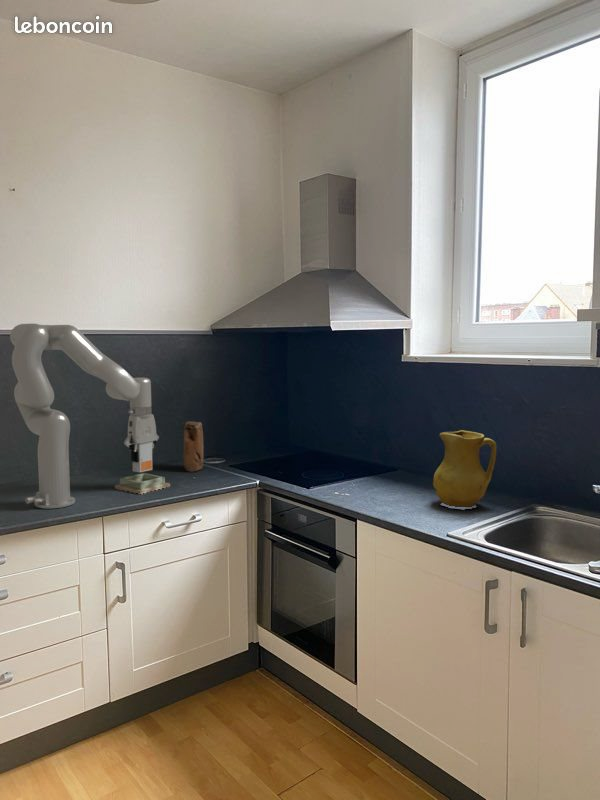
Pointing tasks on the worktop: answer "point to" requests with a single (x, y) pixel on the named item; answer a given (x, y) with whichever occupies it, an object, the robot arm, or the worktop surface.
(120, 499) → the worktop surface
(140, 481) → the socket stand
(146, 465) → the skincare box
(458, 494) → the pitcher
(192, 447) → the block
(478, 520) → the worktop surface
